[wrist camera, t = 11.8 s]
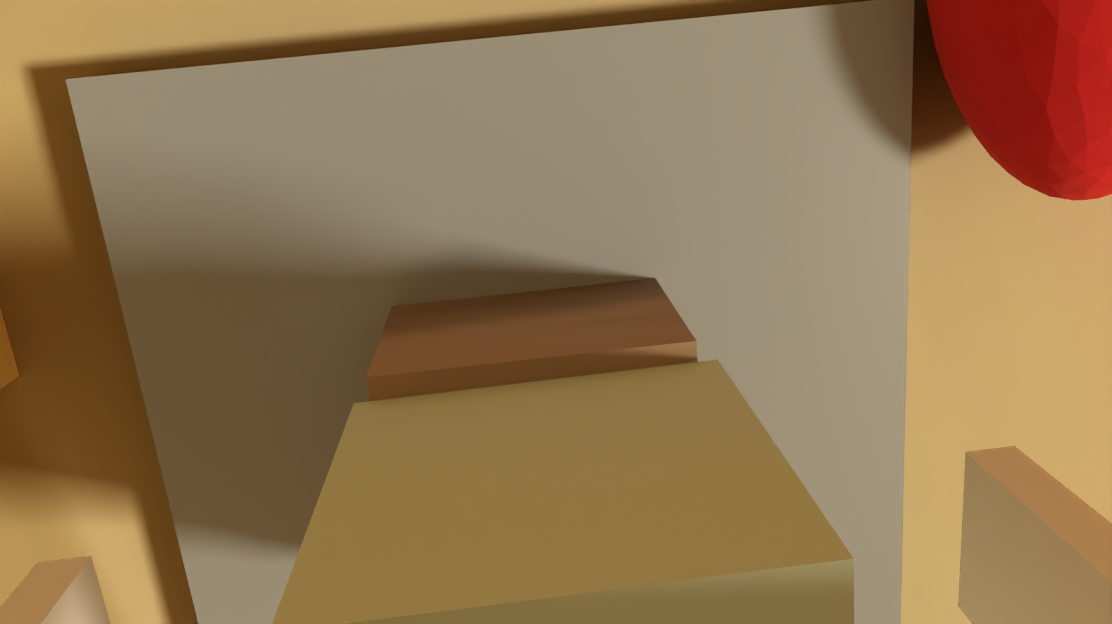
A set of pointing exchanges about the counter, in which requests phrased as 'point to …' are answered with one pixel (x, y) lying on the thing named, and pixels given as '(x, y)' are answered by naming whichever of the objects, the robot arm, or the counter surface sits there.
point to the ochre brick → (6, 357)
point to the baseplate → (510, 245)
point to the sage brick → (568, 511)
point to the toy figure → (1034, 86)
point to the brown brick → (527, 338)
